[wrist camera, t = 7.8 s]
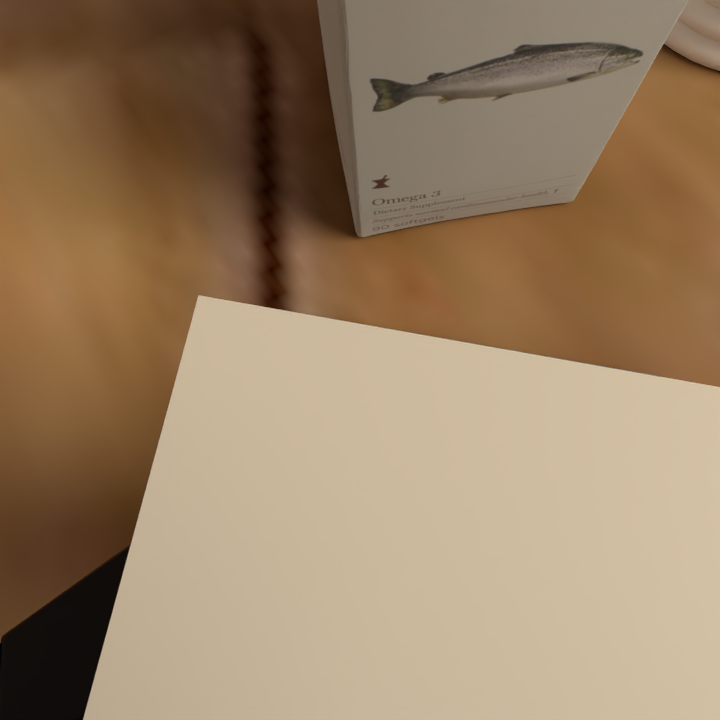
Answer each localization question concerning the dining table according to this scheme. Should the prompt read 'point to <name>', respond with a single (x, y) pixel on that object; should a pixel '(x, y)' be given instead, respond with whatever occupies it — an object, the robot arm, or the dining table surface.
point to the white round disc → (698, 33)
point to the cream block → (416, 535)
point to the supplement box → (479, 99)
